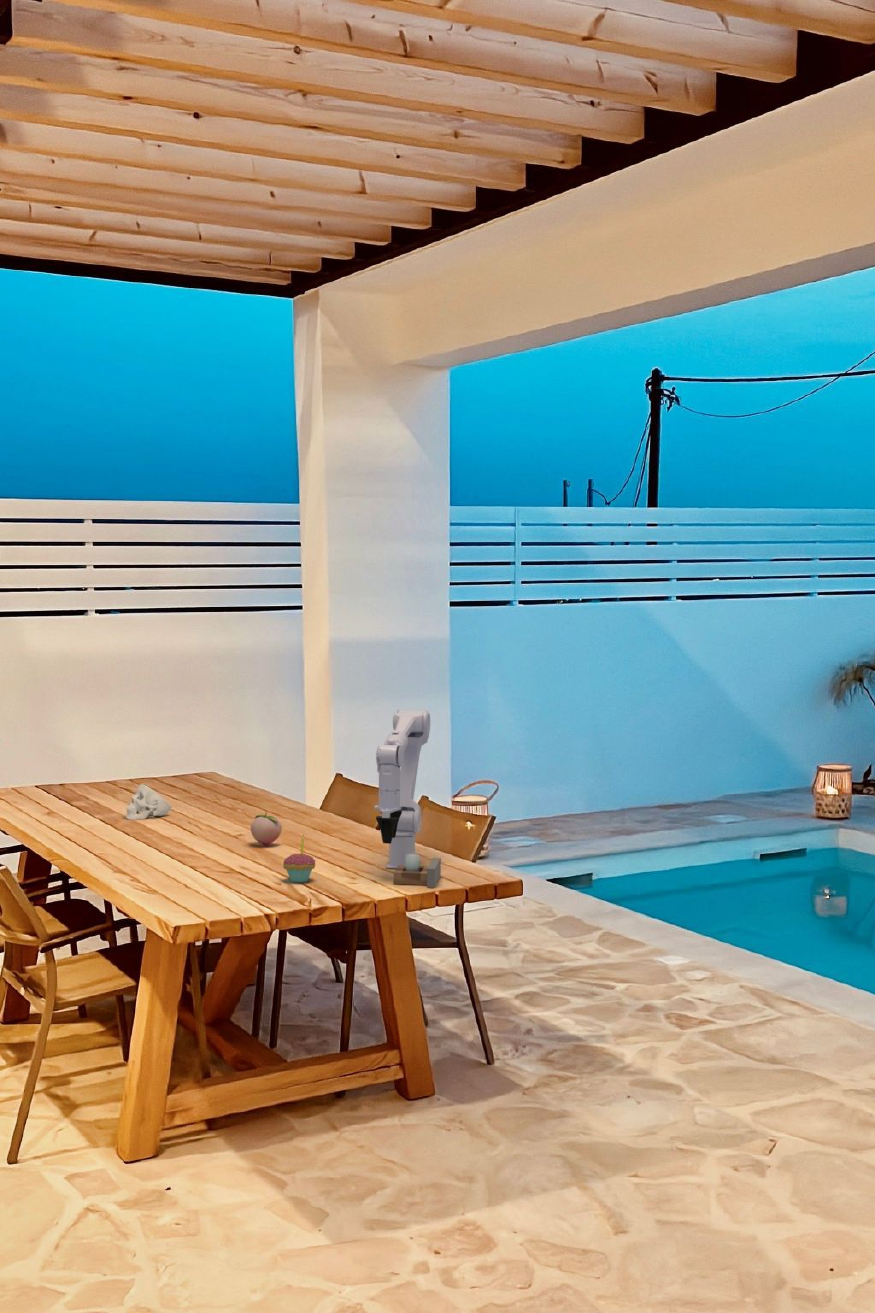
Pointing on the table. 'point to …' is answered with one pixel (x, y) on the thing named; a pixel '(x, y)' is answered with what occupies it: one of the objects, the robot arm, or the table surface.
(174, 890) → the table surface
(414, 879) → the brown square frame
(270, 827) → the decorative fruit
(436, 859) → the wall
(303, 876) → the cupcake
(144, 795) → the skull bowl
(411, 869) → the dowel
